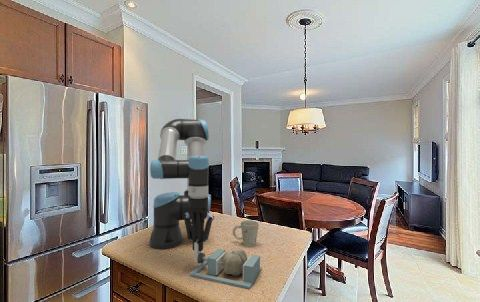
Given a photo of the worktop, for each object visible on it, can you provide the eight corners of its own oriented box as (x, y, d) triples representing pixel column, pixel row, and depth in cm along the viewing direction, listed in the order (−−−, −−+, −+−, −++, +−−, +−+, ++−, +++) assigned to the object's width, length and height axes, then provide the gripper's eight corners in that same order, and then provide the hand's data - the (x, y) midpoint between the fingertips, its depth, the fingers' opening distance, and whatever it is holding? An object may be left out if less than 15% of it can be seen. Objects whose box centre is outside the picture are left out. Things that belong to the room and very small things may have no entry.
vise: (189, 276, 86) (189, 259, 86) (208, 259, 99) (208, 244, 99) (249, 289, 78) (250, 270, 78) (261, 269, 91) (261, 253, 91)
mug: (257, 248, 110) (257, 226, 110) (230, 245, 113) (230, 224, 113) (259, 241, 119) (259, 220, 119) (234, 239, 121) (234, 219, 121)
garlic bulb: (245, 277, 90) (255, 251, 90) (237, 285, 82) (248, 257, 82) (223, 265, 93) (232, 240, 94) (214, 271, 85) (224, 244, 86)
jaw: (193, 271, 88) (193, 255, 88) (205, 260, 97) (205, 246, 97) (216, 276, 85) (216, 259, 85) (226, 265, 93) (226, 249, 93)
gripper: (177, 197, 91) (177, 260, 91) (208, 199, 87) (208, 266, 87) (189, 193, 98) (188, 252, 98) (218, 196, 94) (217, 257, 94)
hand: (197, 258), depth 92 cm, fingers closed
